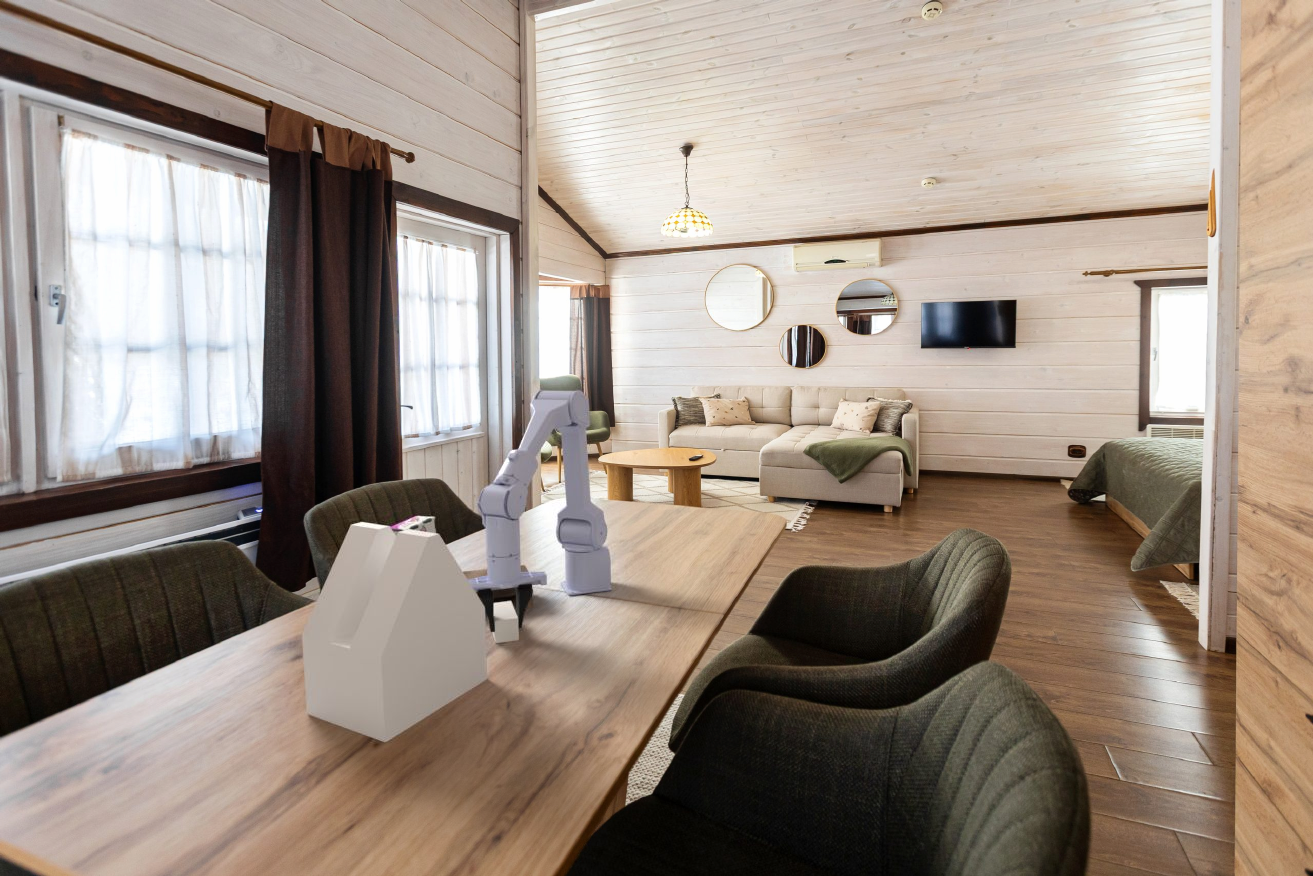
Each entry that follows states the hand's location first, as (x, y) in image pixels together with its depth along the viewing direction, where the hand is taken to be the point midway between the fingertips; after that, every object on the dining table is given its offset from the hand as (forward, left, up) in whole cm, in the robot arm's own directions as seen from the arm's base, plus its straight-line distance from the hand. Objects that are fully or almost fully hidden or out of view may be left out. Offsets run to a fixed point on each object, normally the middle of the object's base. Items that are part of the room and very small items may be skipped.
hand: (505, 628), depth 117 cm
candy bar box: (+15, -26, -2) cm, 30 cm away
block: (0, -3, -2) cm, 4 cm away
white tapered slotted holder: (+17, +15, -2) cm, 23 cm away
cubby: (0, -18, -2) cm, 18 cm away
